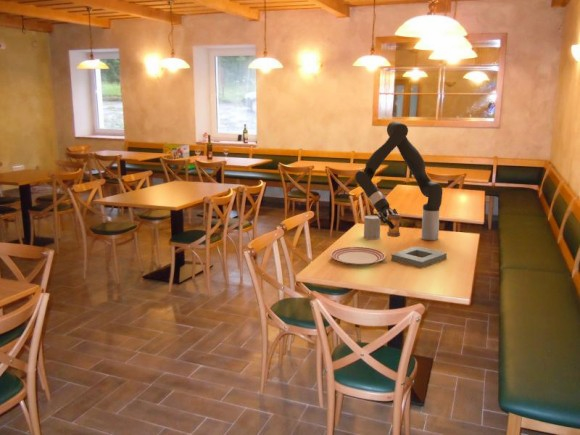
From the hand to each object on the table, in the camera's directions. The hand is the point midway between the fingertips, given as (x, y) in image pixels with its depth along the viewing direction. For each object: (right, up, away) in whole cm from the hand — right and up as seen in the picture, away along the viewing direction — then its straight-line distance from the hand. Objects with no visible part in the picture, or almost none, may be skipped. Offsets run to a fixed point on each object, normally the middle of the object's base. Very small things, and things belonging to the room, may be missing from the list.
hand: (396, 227), depth 275 cm
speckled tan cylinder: (-8, -7, +34) cm, 36 cm away
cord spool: (-1, -4, +2) cm, 5 cm away
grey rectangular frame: (+10, -16, -9) cm, 21 cm away
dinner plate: (-22, -17, -9) cm, 29 cm away
